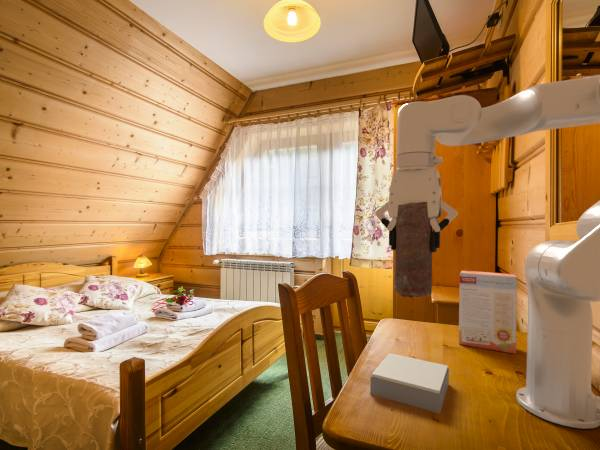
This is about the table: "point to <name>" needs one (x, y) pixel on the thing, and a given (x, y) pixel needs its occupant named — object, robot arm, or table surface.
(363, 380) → the table surface
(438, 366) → the podium
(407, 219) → the candle
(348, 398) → the table surface
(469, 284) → the cracker box
